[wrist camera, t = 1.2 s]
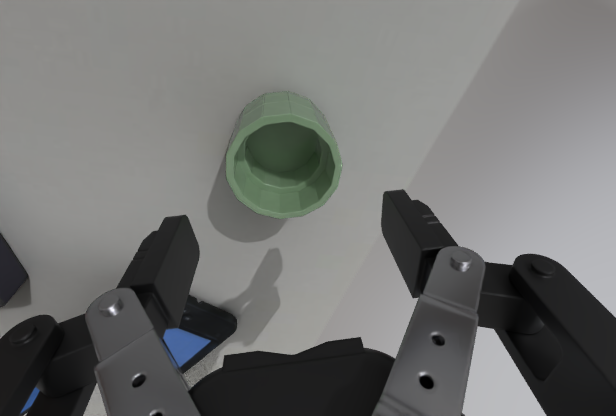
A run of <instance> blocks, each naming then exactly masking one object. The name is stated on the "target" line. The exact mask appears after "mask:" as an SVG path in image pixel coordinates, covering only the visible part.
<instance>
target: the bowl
mask: <svg viewBox="0 0 616 416" xmlns="http://www.w3.org/2000/svg"><path fill="white" fill-rule="evenodd" d="M342 166H343V165H342V160H341V157H340V153H339V149H338V146H337V142H336V140H335V138H334V136H333V134H332V131H331V129H330V127H329V125H328V123H327V120H326V118H325V116H324V114H323V113H322V112H321V111H320V110H319V109H318V108H317V107H316V106H315V105H314V104H313V102H312V101H311V100H310V99H308V98H305V97H303V96H300V95H297V94H294V93H292V92H289V91H288V92H287V91H284V92H275V93H266V94H263V95H261V96H260V97H258V98H257V99H255V100H254V101H252V102H251V103H249V104H248V105H246V107H245V108H244V110H243V111H242V113H241V115H240V117H239V119H238V121H237V123H236V124H235V128H234V131H233V134H232V137H231V140H230V143H229V146H228V150H227V153H226V180H227V181H228V183H229V185H230V187H231V189H232V190H233V192H234V194H235V196H236V198H237V199H238V200H239V201H240V202H242V203H243V204H244V205H246V206H247V207H249V208H250V209H251V210H253V211H254V212H255V213H257V214H261V215H265V216H269V217H273V218H277V219H284V218H292V217H300V216H304V215H306V214H308V213H310V212H312V211H314V210H315V209H317V208H319V207H321V206H323V205H324V204H325V203H326V201H327V200H328V199H329V198H330V196H331V195H332V194H333V193H334V191H335V190H336V189H337V187H338V184H339V179H340V175H341V171H342Z"/></svg>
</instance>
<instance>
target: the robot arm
mask: <svg viewBox="0 0 616 416" xmlns="http://www.w3.org/2000/svg"><path fill="white" fill-rule="evenodd" d="M381 227H382V233H383V236H384V238H385V240H386V242H387V244H388V247H389V249H390V251H391V253H392V255H393V257H394V259H395V261H396V263H397V266H398V268H399V270H400V272H401V274H402V276H403V278H404V280H405V282H406V284H407V287H408V289H409V291H410V293H411V295H412V297H413V298H419V299H418V301H417V304H416V307H415V309H414V312H413V314H412V317H411V320H410V322H409V325H408V327H407V330H406V333H405V335H404V338H403V340H402V343H401V346H400V348H399V351H398V354H397V356H396V359H395V358H393V357H391V356H389V355H387V354H385V353H383V352H380V351H377V350H373V349H369V348H363V344H362V340H361V337H358V338H351V339H343V340H335V341H328V342H325V343H323V344H320V345H318V346H316V347H313V348H310V349H308V350H305V351H303V352H300V353H298V354H295V355H287V354H279V353H271V352H263V351H254V352H246V353H239V354H231V355H224V361H223V367H222V368H219V369H217V370H215V371H214V372H212V373H210V374H208V375H207V376H205V377H204V378H202V379H201V380H200V381H199V382H198V383H196V384H195V385H194V386H193V387H192V388H191V386H190V385H189V383H188V381H187V380H186V378H185V376H184V374H183V372H182V371H181V369H180V367H179V365H178V364H177V362H176V360H175V358H174V356H173V355H172V353H171V351H170V349H169V347H168V346H167V344H166V342H165V340H164V339H163V337H164V334H165V331H166V330H168V329H175V328H179V324H180V321H181V318H182V314H183V311H184V308H185V304H186V301H187V298H188V294H189V291H190V287H191V284H192V281H193V277H194V274H195V271H196V267H197V264H198V261H199V255H200V251H199V245H198V242H197V239H196V237H195V234H194V232H193V229H192V226H191V224H190V221H189V219H188V217H187V216H186V215H180V216H172V217H166V218H164V220H163V222H162V224H161V226H160V228H159V230H158V231H153V232H152V233H151V234H150V235H149V236H147V237H146V238H145V239H144V240H143V242H142V243H141V245H140V247H139V249H138V252H136V254H135V256H134V258H133V260H132V261H131V263H130V265H129V267H128V268H127V270H126V272H125V274H124V276H123V277H122V279H121V281H120V283H119V285H118V286H117V288H116V289H113V290H111V291H108V292H106V293H104V294H103V295H101V296H100V297H98V298H97V299H96V300H95V301H94V302H93V303H92V304H91V305H90V306H89V307H88V309H87V311H86V314H83V315H80V316H78V317H75V318H72V319H69V320H67V321H64V322H61V323H57V322H56V320H55V319H54V318H53V317H51V316H49V315H39V316H35V317H32V318H29V319H27V320H25V321H23V322H21V323H19V324H18V325H16V326H15V327H13V328H12V329H10V330H9V331H8V332H7V333H6V334H5V335H4V336H3V337H2V338H1V339H0V416H20V413H21V411H22V409H23V408H24V406H25V404H26V402H27V401H28V399H29V397H30V395H31V394H32V392H33V390H34V388H35V387H36V388H37V389H38V390H40V391H39V393H38V395H37V397H36V398H35V400H34V402H33V404H32V406H31V407H30V409H29V411H28V413H27V415H26V416H83V414H84V412H85V410H86V407H87V405H88V402H89V400H90V397H91V395H92V393H93V390H94V388H95V385H96V383H98V386H99V389H100V393H101V396H102V399H103V403H104V406H105V409H106V413H107V416H465V415H464V414H463V413H462V409H463V403H464V398H465V392H466V387H467V381H468V376H469V370H470V365H471V359H472V354H473V348H474V343H475V337H476V332H477V326H480V327H486V328H492V329H494V330H495V331H496V333H497V335H498V336H499V338H500V340H501V341H502V343H503V345H504V346H505V348H506V349H507V351H508V353H509V354H510V356H511V358H512V359H513V361H514V363H515V364H516V366H517V367H518V369H519V371H520V373H521V374H522V376H523V377H524V379H525V381H526V382H527V384H528V386H529V387H530V389H531V390H532V392H533V394H534V396H535V397H536V399H537V401H538V402H539V404H540V405H541V407H542V409H543V410H544V412H545V414H546V415H547V416H616V318H615V317H614V316H613V315H612V314H611V313H610V312H609V311H608V310H607V309H606V308H605V307H604V306H603V305H602V304H601V303H600V302H599V301H598V300H597V299H596V298H595V297H594V296H593V295H592V294H591V293H590V292H589V291H588V290H587V289H586V288H585V287H584V286H583V285H582V284H581V283H580V282H579V281H578V280H577V279H576V278H575V277H574V276H573V275H572V274H571V273H570V272H569V271H568V270H567V269H566V268H564V267H563V266H562V265H561V264H559V263H558V262H556V261H554V260H552V259H550V258H548V257H545V256H541V255H537V254H523V255H520V256H518V257H517V258H516V259H515V261H514V264H513V265H506V264H497V263H489V262H484V260H483V259H482V258H481V257H480V256H479V255H478V254H477V253H476V252H474V251H472V250H470V249H467V248H464V247H460V246H458V245H457V243H456V242H455V241H454V239H453V238H452V237H451V235H450V234H449V233H448V232H447V230H446V229H445V228H444V227H443V225H442V224H441V223H440V222H439V220H438V219H437V217H436V216H434V213H433V212H432V211H431V209H430V208H429V207H428V206H427V205H425V204H424V203H422V202H420V201H419V200H411V199H410V197H409V196H408V195H407V193H406V192H405V190H403V189H402V190H394V191H386V192H384V194H383V204H382V218H381Z"/></svg>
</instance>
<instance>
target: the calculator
mask: <svg viewBox="0 0 616 416" xmlns="http://www.w3.org/2000/svg"><path fill="white" fill-rule="evenodd" d="M27 278H28V275H27V273H26V272H25V270H24V269H23V267H22V265H21V264H20V262H19V261H18V259H17V258H16V256H15V255H14V253H13V252H12V250H11V249H10V247H9V246H8V244H7V243H6V241H5V240H4V238H3V237H2V235H1V234H0V307H3V306H5V305H6V303H7V302H8V301H9V300H10V299H11V297H12V296H13V295H14V294H15V293H16V291H17V290H18V289H19V288H20V286H21V285H22V284H23V283H24V282H25V280H26V279H27Z"/></svg>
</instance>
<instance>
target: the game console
mask: <svg viewBox="0 0 616 416" xmlns="http://www.w3.org/2000/svg"><path fill="white" fill-rule="evenodd" d="M236 328H237V319H236V318H235V317H234V316H233V315H232V314H230V313H228V312H225V311H223V310H221V309H218V308H216V307H214V306H212V305H210V304H208V303H205V302H204V301H201V302H200V303H198V302H197V299H196V298H195V297H192V296H190V295H188V298H187V301H186V304H185V308H184V311H183V314H182V318H181V321H180V324H179V328H175V329H168V330H166V331H165V334H164V337H163V339H164V340H165V342H166V344H167V346H168V347H169V349H170V351H171V353H172V355H173V356H174V358H175V360H176V362H177V364H178V365H179V367H180V369H181V371H182V372H183V374H184V373H185V372H186V371H187V370H189V369H190V368H191V367H192V366H194V365H195V364H196V363H198V362H199V361H200V360H201V359H202V358H204V357H205V356H206V355H207V354H209V353H210V352H211V351H212V350H213V349H215V348H216V347H217V346H218V345H220V344H221V343H222V342H223V341H225V340H226V339H227V338H228V337H230V336H231V335H232V334H233V333H234V332H235V331H236ZM39 391H40V390H38V389H37V388H36V387H35V388H34V390H33V392H32V394H31V395H30V397H29V399H28V401H27V402H26V404H25V406H24V408H23V409H22V411H21V413H20V416H23V415H24V414H26V413H27V412H28V411H29V409H30V407H31V406H32V404H33V402H34V400H35V398H36V397H37V395H38V393H39Z"/></svg>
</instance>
